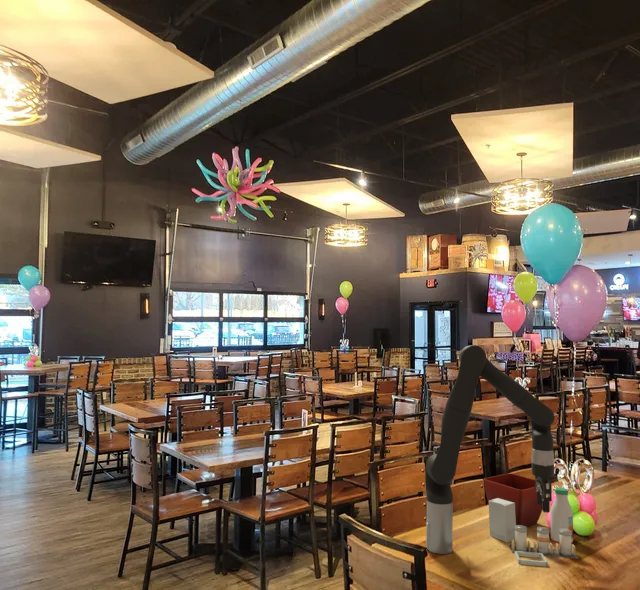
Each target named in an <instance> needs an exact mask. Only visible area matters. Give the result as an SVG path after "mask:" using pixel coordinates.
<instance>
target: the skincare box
mask: <svg viewBox="0 0 640 590" xmlns="http://www.w3.org/2000/svg"><path fill="white" fill-rule="evenodd" d="M488 514H489V515H488V518H489V521H488V522H489V536H490V537H492V538H495V539H498V540H500V541H503V542H505V543H509V542H512V540H514V541H515V526H516V517H515V503H514V502H510V501H506V500H503V499H499V498H496V499H493V500H489V504H488Z"/></svg>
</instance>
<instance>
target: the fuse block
mask: <svg viewBox="0 0 640 590" xmlns="http://www.w3.org/2000/svg"><path fill="white" fill-rule="evenodd" d="M552 543H553V542H549V554H543V555H544V557H553V558H564V559H577V560H579V559H580V558H579V556H578V555H577V554H576V545H574V544H573V543H571V551H572V555H571V556H564V555H561V554H560V553H559V549H560V544H558V543H559V542H556V543H555V548H554V545H553V544H552ZM508 546H509V548H510V551H511V554H514V551H516V550H515V540H512V541H511V545H508ZM527 552H534V553H538V552H537V541H536V540H534V541H533V546H531V542H530V540H527Z"/></svg>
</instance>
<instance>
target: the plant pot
mask: <svg viewBox="0 0 640 590" xmlns="http://www.w3.org/2000/svg"><path fill="white" fill-rule="evenodd" d="M483 485H484V493H485V496H486V500H487V503H488V505H489V500H493V499H496V498H499V499H503V500H506V501H510V502H514V503H515V517H516V525H522V526H525V527H527V528H528V527H530V526H534V525H537V524H538V522H539V519H540V517H541V514H542V513H543V510H542V505H539V504H537V493H536V490H535V478H534V479H533V478H530V477H526V476H523V475H518V474H516V473H513V472H512V473H504V474H498V475H494V476H489V477H484V478H483ZM546 497H548V496H547V495H546Z"/></svg>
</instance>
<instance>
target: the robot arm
mask: <svg viewBox="0 0 640 590" xmlns="http://www.w3.org/2000/svg"><path fill="white" fill-rule="evenodd" d="M458 359H459V368H458V372H457V377H456V379H455V383H454V385H453V386H452V389H451V390H450V392H449V395H448V398H447V401H446V403H445V406H444V410H443V413H442V418H441V427H440V428H441V429H440V430H441V432H440V434H441V435H440V443H439V445H438V450H437V452H436V453H435V454H432V455H431V456H429V458H428V459H427V460H426V462H425V469H424V470H425V471H424V472H425V476H424V477H425V478H424V479H425V492H426V526H425V527H426V528H425V531H426V532H425V534H426V535H425V537H426V538H425V539H426V540H425V547H427V549H428V550H429V551H428V552H431V553H434V554H439V555H448V554H450V553H452V552H453V546H454V545H453V541H454V540H453V533H454V532H453V531H454V530H453V529H454V525H453V524H454V523H453V522H454V516H453V515H454V501H453V500H454V495H453V491H452V487H451V482H452V481H453V479H454V478H455V476H456V472H457V466H458V465H457V464H458V461H459V454H460V450H461V446H462V443H463V440H464V438H465V434H466V431H467V430H466V429H467V427H468V424H469V420H470V418H471V413H472V409H473V406H474V401H475V395H476V390H477V385H478V384H479V380H480V378H481V379H483V380H485V381H486V382H487V383H489V385H491V386H492V387H493V388H494V389H496V390H497V391H498V392H499V393H500V394H501V395H502V396H503V397H504V398H506V399H507V400H508V401H509V402H510V403H511V404H513V405H514V406H515V407H516V408H518V409H519V410H521V411H522V412H524V413H525V415H527V416H528V417H529V418H530V426H531V433H532V437H531V441H532V442H531V445H532V446H531V474H532V475H533V476H534V480H535V490H536V493H537V504H539V505H542V513H547V514H548V513H551V508H550V502H553V500H552V499H553V498H552V483H550V481H549V479H550V478H553V477H554V476H555V453H554V437H553V434H552V425H553V423H554V422H555V418H556V417H555V413H554V411H553V410H552V409H551V408H550V407H549V406H547V405H546V404H544V402H542V401H540V400H539V399H538V398H536V397H535V396H534V395H533V394H532V393H531V392H530V391H529V390H528V389H527V388H525V387H524V386H523V385H522V384H520V383H519V382H517V381H516V380H515V379H514V378H512V377H510V376H509V375H507V374H506V373H504V372H503V371H502V370H500V369H499V368H498V367H497V366H496V365H494V364H493V363H492V362H491V361H490V360H489V359H488V358H487V354H486V351H485V350H484V349H483V347H482V346H480V345H476V344H471V345H467V346H465V347H463V348H462V349H461V350H460V352H459V356H458ZM546 495H547V496H546ZM427 549H426V550H427Z"/></svg>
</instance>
